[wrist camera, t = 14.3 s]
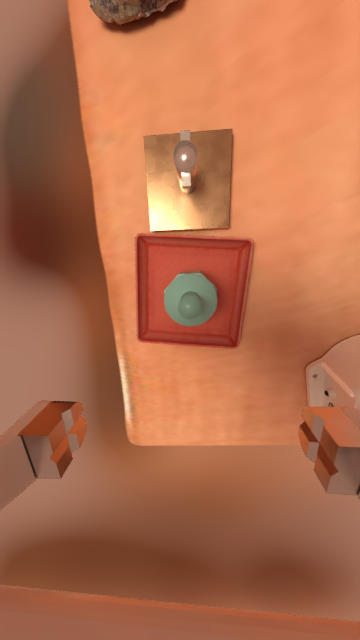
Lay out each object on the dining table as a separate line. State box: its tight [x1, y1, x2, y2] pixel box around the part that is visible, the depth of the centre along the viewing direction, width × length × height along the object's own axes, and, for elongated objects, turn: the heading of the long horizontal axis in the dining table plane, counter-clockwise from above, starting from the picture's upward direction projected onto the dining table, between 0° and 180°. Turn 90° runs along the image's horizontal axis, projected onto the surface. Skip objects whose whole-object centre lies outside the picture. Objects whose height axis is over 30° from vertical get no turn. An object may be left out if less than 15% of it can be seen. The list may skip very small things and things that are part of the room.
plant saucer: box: [135, 233, 254, 349], centre depth 34 cm, size 18×18×3 cm
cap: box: [164, 271, 217, 326], centre depth 29 cm, size 7×7×9 cm
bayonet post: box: [144, 129, 232, 232], centre depth 26 cm, size 12×12×10 cm
